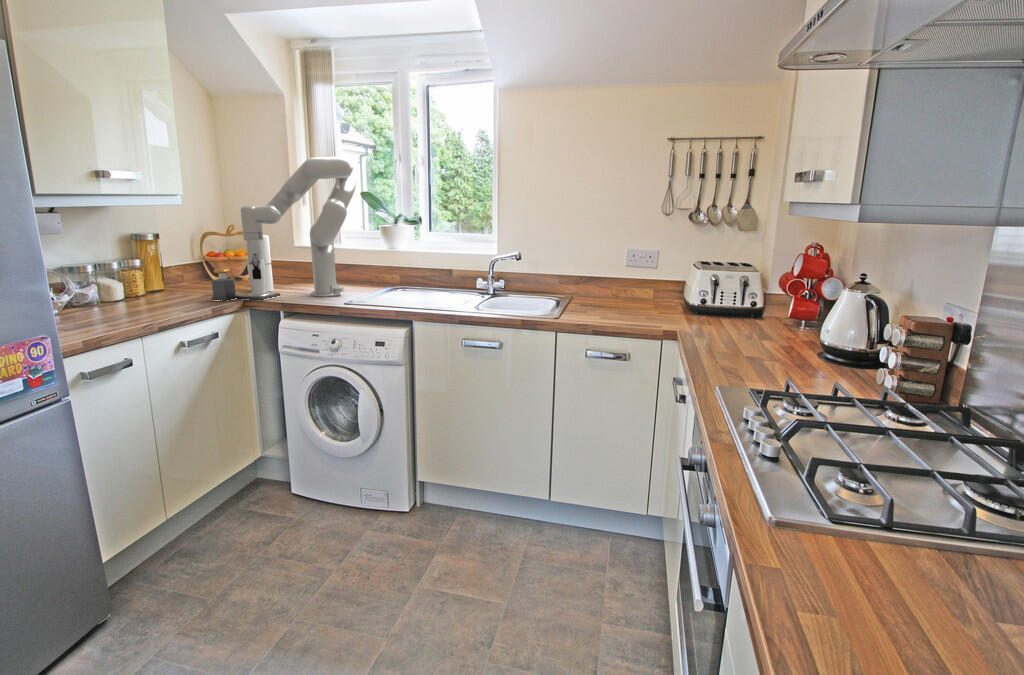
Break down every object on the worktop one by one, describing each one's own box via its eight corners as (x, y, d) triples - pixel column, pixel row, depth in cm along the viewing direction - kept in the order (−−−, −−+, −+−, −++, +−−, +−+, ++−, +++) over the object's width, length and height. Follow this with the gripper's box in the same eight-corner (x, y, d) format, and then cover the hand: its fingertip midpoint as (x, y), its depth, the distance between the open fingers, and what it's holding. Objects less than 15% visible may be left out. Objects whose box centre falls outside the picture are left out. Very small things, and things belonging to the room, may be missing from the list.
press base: (280, 296, 249) (278, 277, 247) (253, 303, 232) (251, 282, 230) (241, 294, 253) (239, 275, 251) (211, 300, 237) (209, 280, 235)
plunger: (235, 288, 240) (233, 269, 238) (224, 290, 235) (222, 270, 233) (223, 287, 242) (220, 268, 240) (212, 290, 236) (210, 270, 234)
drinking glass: (262, 292, 248) (259, 257, 245) (270, 294, 244) (267, 258, 240) (247, 294, 243) (243, 258, 240) (254, 296, 239) (251, 260, 236)
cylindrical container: (269, 292, 258) (264, 236, 252) (253, 292, 258) (248, 236, 252) (276, 290, 265) (271, 235, 259) (260, 289, 265) (255, 235, 259)
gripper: (243, 235, 244) (247, 275, 248) (243, 238, 229) (247, 280, 233) (262, 235, 247) (266, 274, 251) (263, 237, 232) (267, 279, 236)
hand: (257, 277), depth 242 cm, fingers open, 9 cm apart
